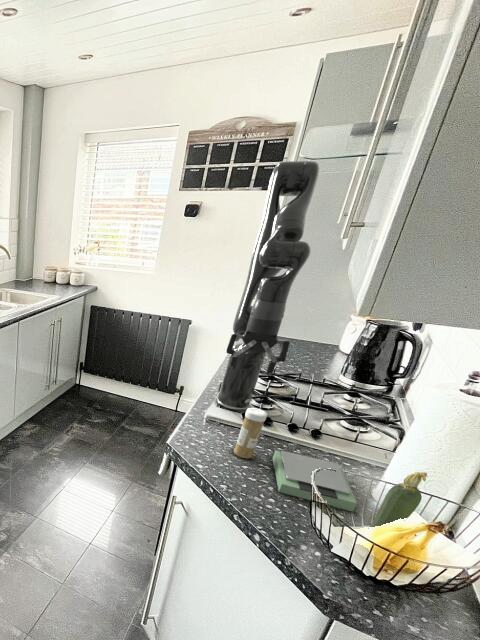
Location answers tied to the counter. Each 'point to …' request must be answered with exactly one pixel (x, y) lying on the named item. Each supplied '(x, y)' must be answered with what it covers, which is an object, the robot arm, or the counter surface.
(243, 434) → the sprinkles bottle
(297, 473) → the pan
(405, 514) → the vegetable
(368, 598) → the counter surface
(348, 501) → the scale
